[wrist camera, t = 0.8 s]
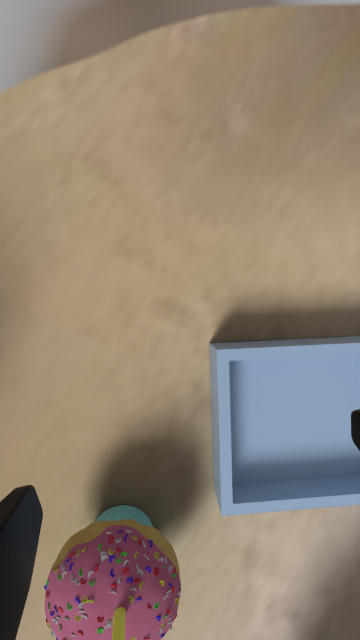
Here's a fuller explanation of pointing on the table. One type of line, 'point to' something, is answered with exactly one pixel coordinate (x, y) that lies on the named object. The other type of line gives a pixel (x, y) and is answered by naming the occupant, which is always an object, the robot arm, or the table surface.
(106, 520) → the cupcake
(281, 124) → the table surface
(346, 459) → the tray
